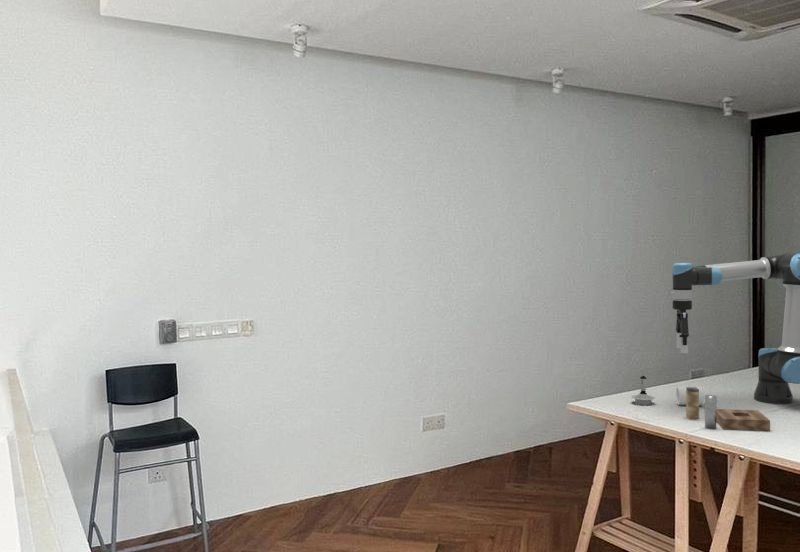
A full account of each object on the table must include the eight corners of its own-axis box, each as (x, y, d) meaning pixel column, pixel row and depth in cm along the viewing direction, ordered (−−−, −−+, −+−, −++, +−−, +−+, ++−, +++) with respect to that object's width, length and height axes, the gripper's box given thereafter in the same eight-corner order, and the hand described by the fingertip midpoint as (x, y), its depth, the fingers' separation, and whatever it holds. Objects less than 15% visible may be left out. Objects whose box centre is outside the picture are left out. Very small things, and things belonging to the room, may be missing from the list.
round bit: (715, 426, 265) (715, 395, 264) (717, 429, 261) (717, 397, 260) (703, 426, 266) (704, 394, 265) (706, 428, 262) (706, 397, 261)
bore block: (758, 420, 272) (758, 410, 272) (770, 431, 257) (770, 420, 257) (714, 418, 276) (714, 408, 276) (723, 429, 260) (723, 418, 260)
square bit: (696, 417, 279) (696, 387, 279) (698, 419, 275) (698, 389, 275) (686, 416, 280) (686, 387, 280) (688, 419, 276) (688, 389, 276)
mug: (704, 407, 296) (704, 388, 295) (679, 406, 298) (679, 388, 297) (698, 401, 307) (698, 383, 307) (674, 400, 309) (674, 382, 309)
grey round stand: (659, 375, 305) (637, 372, 311) (649, 378, 297) (627, 375, 304) (659, 403, 305) (637, 399, 312) (649, 407, 298) (627, 403, 305)
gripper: (669, 297, 304) (669, 346, 305) (676, 302, 280) (676, 354, 281) (687, 297, 302) (687, 346, 303) (696, 302, 278) (696, 355, 279)
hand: (682, 350), depth 292 cm, fingers open, 13 cm apart
